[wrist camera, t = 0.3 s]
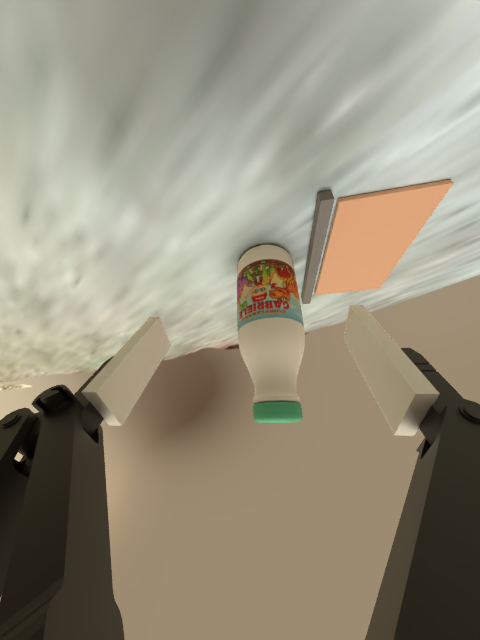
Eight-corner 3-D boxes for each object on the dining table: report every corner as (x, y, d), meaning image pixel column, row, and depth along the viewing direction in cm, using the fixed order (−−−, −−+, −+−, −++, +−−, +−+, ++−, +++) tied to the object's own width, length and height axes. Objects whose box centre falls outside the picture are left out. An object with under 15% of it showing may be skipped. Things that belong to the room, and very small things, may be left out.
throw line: (318, 192, 20) (321, 201, 19) (330, 189, 20) (334, 198, 19) (301, 296, 35) (302, 304, 35) (308, 296, 35) (309, 303, 34)
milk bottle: (301, 268, 29) (332, 422, 19) (256, 288, 33) (264, 424, 23) (275, 231, 24) (301, 419, 14) (226, 261, 28) (219, 422, 18)
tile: (337, 198, 20) (339, 201, 20) (450, 179, 19) (453, 182, 19) (314, 292, 34) (315, 295, 34) (378, 285, 33) (379, 288, 32)
